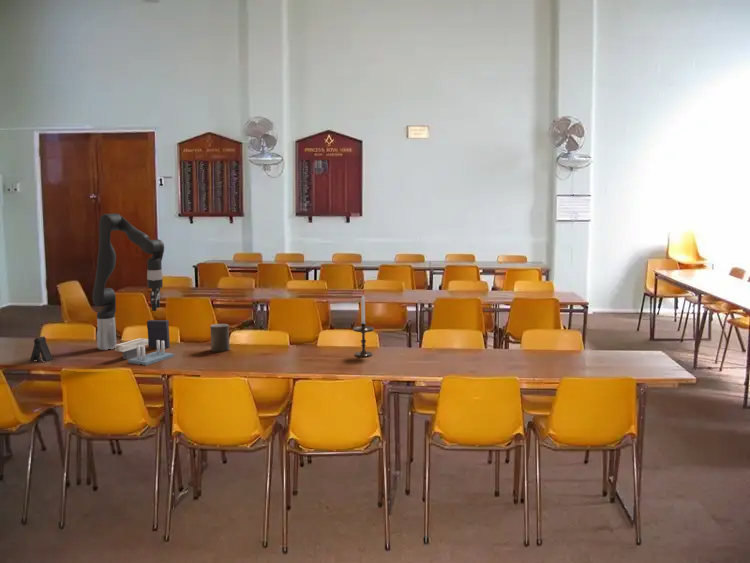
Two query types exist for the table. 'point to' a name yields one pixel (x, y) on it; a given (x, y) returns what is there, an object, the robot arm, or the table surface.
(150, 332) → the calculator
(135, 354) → the block
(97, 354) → the table surface
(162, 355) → the peg stand
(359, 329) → the candlestick
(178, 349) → the table surface
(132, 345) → the shelf board
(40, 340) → the phone stand
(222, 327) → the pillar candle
